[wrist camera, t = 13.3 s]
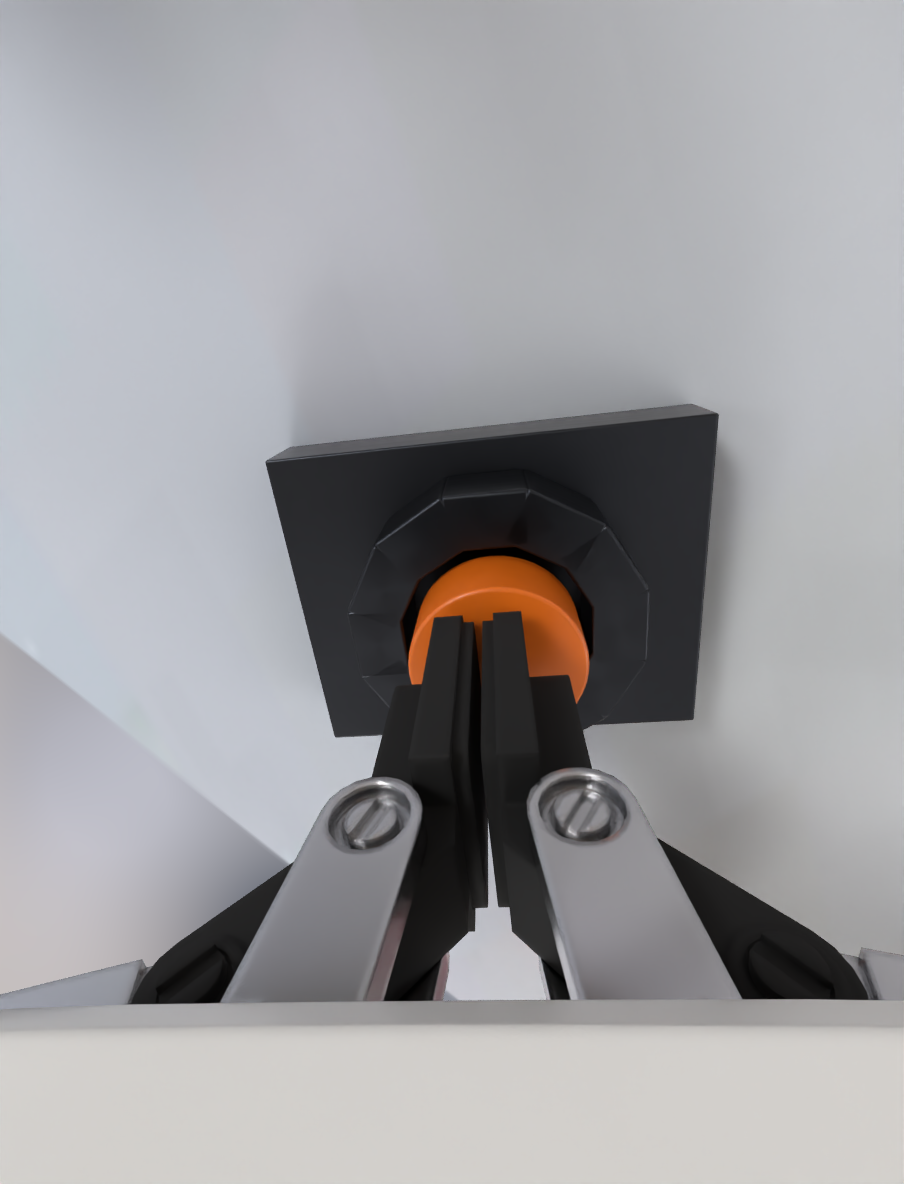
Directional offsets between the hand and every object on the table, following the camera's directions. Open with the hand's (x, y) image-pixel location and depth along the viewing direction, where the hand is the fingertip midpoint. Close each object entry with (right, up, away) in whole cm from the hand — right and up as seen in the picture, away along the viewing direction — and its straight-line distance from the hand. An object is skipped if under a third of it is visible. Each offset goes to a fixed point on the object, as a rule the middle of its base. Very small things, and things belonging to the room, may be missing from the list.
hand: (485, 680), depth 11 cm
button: (0, +1, +2) cm, 2 cm away
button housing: (+1, +2, +5) cm, 5 cm away
